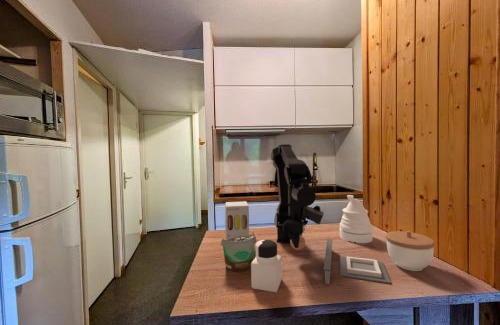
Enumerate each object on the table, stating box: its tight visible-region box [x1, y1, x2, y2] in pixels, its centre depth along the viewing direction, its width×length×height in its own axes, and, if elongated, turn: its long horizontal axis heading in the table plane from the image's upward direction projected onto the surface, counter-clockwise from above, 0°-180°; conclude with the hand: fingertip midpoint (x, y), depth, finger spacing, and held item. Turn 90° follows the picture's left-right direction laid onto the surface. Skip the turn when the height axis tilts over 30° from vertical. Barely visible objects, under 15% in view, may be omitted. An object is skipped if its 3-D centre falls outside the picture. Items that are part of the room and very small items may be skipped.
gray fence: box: [323, 238, 333, 286], centre depth 75 cm, size 2×24×4 cm, turn 159°
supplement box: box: [224, 200, 250, 240], centre depth 95 cm, size 10×9×17 cm
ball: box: [289, 235, 306, 251], centre depth 79 cm, size 5×5×5 cm
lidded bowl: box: [385, 230, 435, 272], centre depth 73 cm, size 13×13×11 cm
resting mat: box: [339, 255, 392, 285], centre depth 72 cm, size 13×13×2 cm
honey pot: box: [339, 194, 373, 244], centre depth 99 cm, size 13×13×18 cm
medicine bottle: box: [250, 239, 283, 293], centre depth 65 cm, size 7×7×12 cm
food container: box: [220, 232, 258, 273], centre depth 74 cm, size 12×6×10 cm, turn 117°
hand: (297, 244), depth 79 cm, fingers closed on ball, 5 cm apart
